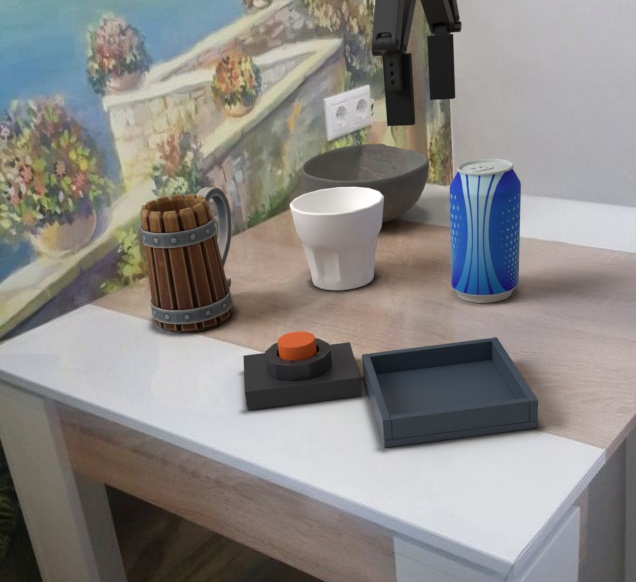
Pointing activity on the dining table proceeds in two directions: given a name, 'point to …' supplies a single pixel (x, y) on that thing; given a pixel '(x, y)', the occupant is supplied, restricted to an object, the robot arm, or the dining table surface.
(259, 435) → the dining table surface
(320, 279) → the cup
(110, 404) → the dining table surface
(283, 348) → the button
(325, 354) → the dark grey button base
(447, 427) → the shallow square tray
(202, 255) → the mug
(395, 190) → the bowl
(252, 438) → the dining table surface
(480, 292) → the beer can
